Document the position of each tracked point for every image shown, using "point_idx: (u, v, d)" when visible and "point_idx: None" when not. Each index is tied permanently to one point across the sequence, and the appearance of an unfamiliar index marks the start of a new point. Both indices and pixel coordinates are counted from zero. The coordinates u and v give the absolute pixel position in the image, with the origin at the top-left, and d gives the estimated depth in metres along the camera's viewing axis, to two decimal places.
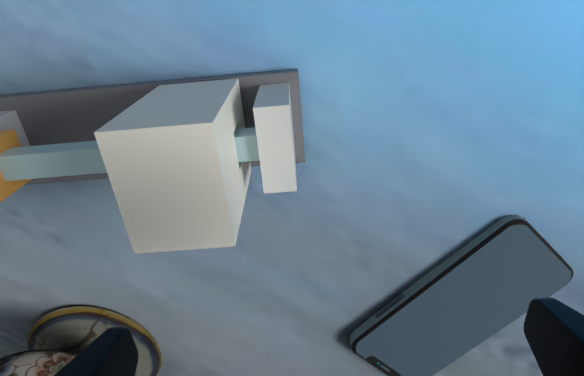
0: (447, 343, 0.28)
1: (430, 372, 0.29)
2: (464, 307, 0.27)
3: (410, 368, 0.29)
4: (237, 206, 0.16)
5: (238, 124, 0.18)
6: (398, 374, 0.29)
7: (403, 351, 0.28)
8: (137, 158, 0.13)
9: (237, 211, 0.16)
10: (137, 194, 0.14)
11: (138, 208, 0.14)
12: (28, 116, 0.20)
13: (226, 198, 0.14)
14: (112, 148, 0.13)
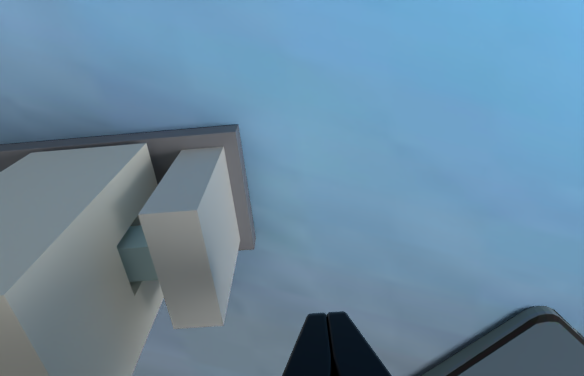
0: None
1: None
2: None
3: None
4: (116, 371, 0.10)
5: None
6: None
7: None
8: None
9: None
10: None
11: None
12: None
13: None
14: None
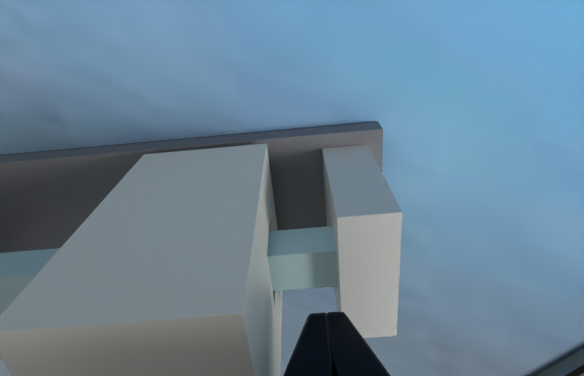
0: None
1: None
2: None
3: None
4: None
5: (269, 222, 0.11)
6: None
7: None
8: (83, 373, 0.06)
9: None
10: None
11: None
12: None
13: None
14: (29, 357, 0.06)
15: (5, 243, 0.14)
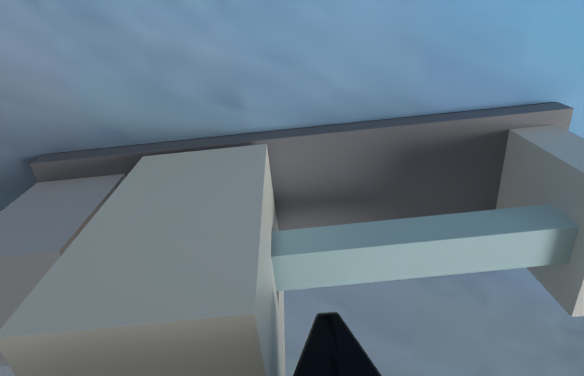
0: None
1: None
2: None
3: None
4: None
5: (271, 222, 0.11)
6: None
7: None
8: None
9: None
10: None
11: None
12: None
13: None
14: (37, 362, 0.06)
15: None
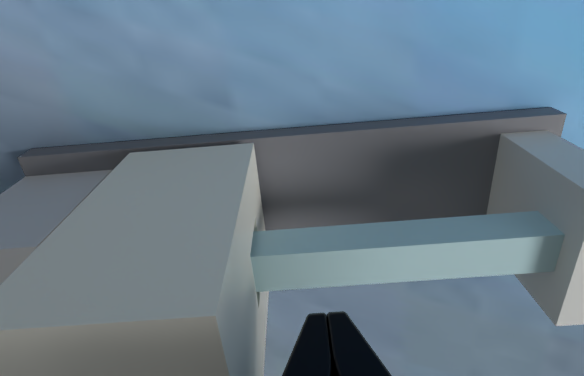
0: None
1: None
2: None
3: None
4: None
5: (255, 222, 0.11)
6: None
7: None
8: (55, 374, 0.06)
9: None
10: None
11: None
12: None
13: None
14: None
15: None
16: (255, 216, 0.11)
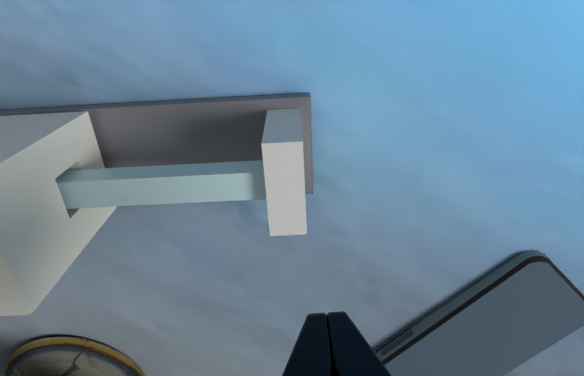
0: None
1: None
2: (477, 346, 0.25)
3: None
4: (50, 263, 0.14)
5: (79, 164, 0.16)
6: None
7: None
8: None
9: (49, 270, 0.14)
10: None
11: None
12: None
13: (8, 264, 0.12)
14: None
15: None
16: (77, 159, 0.16)
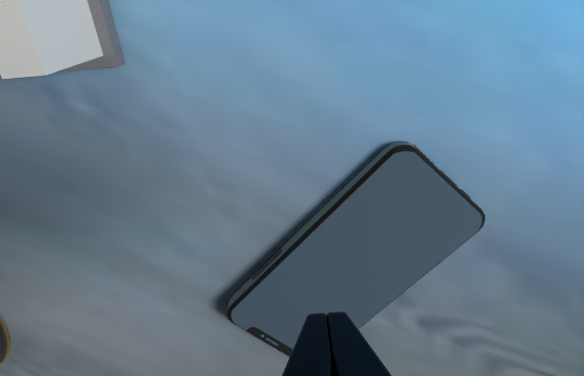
0: (342, 309, 0.23)
1: None
2: (355, 263, 0.22)
3: None
4: None
5: None
6: (290, 349, 0.25)
7: (291, 320, 0.23)
8: None
9: None
10: None
11: None
12: None
13: None
14: None
15: None
16: None
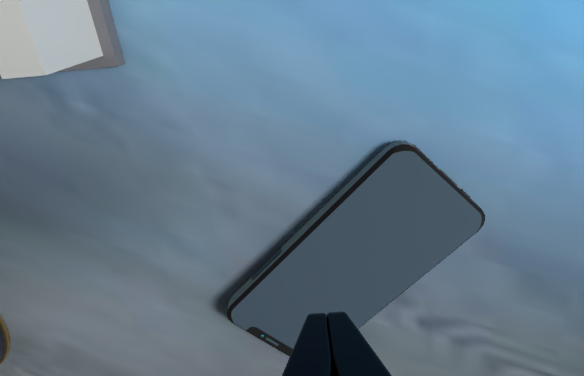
0: (342, 309, 0.23)
1: None
2: (355, 262, 0.22)
3: None
4: None
5: None
6: (290, 349, 0.25)
7: (291, 320, 0.23)
8: None
9: None
10: None
11: None
12: None
13: None
14: None
15: None
16: None
